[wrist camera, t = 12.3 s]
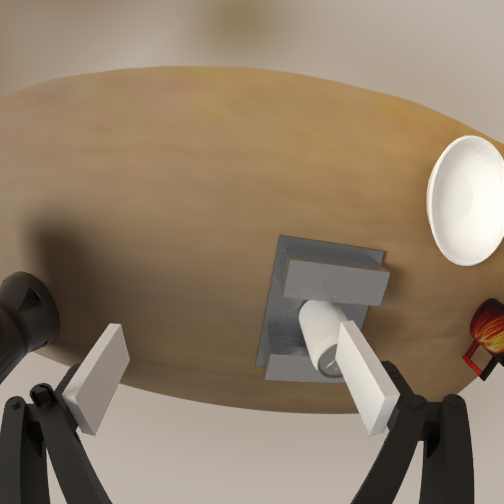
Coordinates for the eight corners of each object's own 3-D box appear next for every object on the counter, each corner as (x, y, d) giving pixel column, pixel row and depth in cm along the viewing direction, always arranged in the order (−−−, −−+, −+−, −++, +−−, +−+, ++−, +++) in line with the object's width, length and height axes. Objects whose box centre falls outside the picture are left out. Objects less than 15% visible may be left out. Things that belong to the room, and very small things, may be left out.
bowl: (479, 129, 35) (503, 129, 29) (492, 235, 41) (514, 244, 35) (394, 147, 37) (416, 146, 31) (415, 269, 42) (436, 284, 36)
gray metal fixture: (255, 363, 47) (256, 386, 41) (279, 234, 40) (284, 246, 35) (344, 367, 47) (353, 388, 42) (382, 250, 41) (399, 262, 36)
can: (347, 307, 43) (375, 352, 31) (321, 338, 44) (340, 388, 33) (316, 287, 42) (339, 330, 30) (289, 319, 43) (302, 370, 32)
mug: (458, 356, 49) (486, 388, 37) (476, 300, 45) (513, 328, 33) (485, 348, 49) (512, 376, 37) (503, 295, 45) (536, 319, 33)
